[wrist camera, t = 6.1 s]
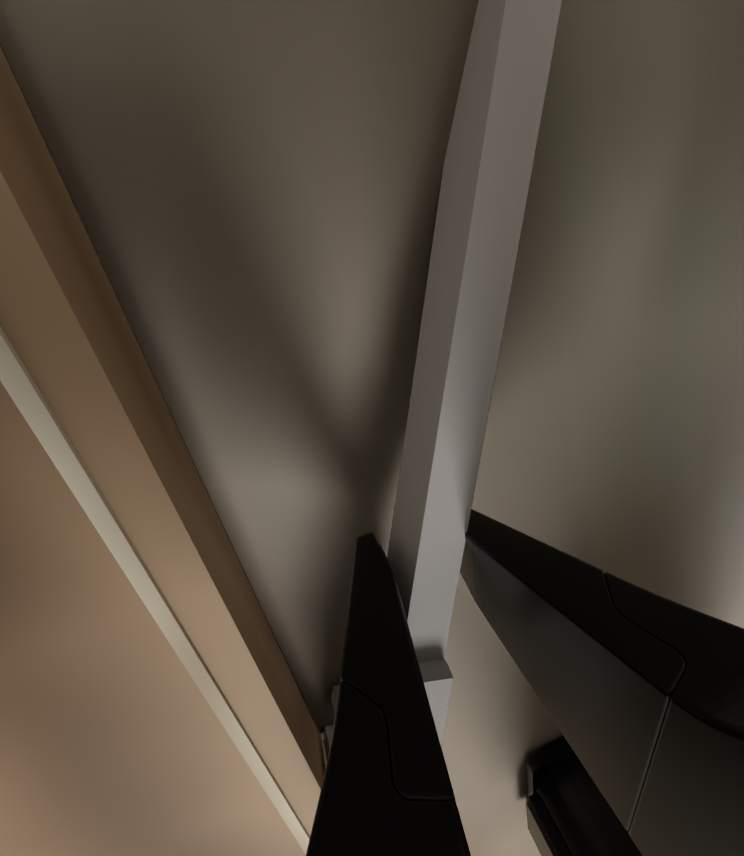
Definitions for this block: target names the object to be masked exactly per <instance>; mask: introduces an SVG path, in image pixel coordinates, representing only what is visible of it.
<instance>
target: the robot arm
mask: <svg viewBox="0 0 744 856" xmlns="http://www.w3.org/2000/svg"><path fill="white" fill-rule="evenodd" d="M465 539H466V540H465V546H464V552H463V557H462V563H461V568H460V573H461V575H462V577H463V579H464V580H465V582H466V584H467V586H468V588H469V590H470V592H471V594H472V596H473V598H474V600H475V602H476V603H477V605H478V607H479V608H480V610H481V611H482V613H483V614H484V616H485V617H486V619H487V620H488V622H489V624H490V625H491V627H492V628H493V630H494V631H495V633H496V634H497V636H498V637H499V639H500V640H501V642H502V643H503V645H504V646H505V648H506V649H507V651H508V652H509V654H510V655H511V657H512V658H513V660H514V661H515V663H516V664H517V666H518V667H519V669H520V670H521V672H522V673H523V675H524V676H525V678H526V679H527V681H528V682H529V684H530V686H531V687H532V689H533V690H534V692H535V693H536V695H537V696H538V698H539V699H540V701H541V702H542V704H543V705H544V707H545V708H546V710H547V711H548V713H549V714H550V716H551V717H552V719H553V720H554V722H555V723H556V725H557V726H558V728H559V729H560V731H561V732H562V734H563V735H564V737H565V738H566V740H565V741H563V742H561V743H559V744H557V745H555V746H553V747H550V748H548V749H546V750H544V751H542V752H540V753H538V754H536V755H534V756H533V757H532V758H531V759H529V761H528V762H527V781H528V799H527V820H528V829H529V831H530V833H531V835H532V837H533V839H534V841H535V844H536V846H537V848H538V850H539V852H540V854H541V856H744V629H743V628H741V627H738V626H735V625H733V624H730V623H727V622H725V621H722V620H720V619H717V618H714V617H712V616H709V615H706V614H704V613H701V612H699V611H696V610H693V609H691V608H688V607H686V606H683V605H681V604H678V603H676V602H673V601H671V600H668V599H666V598H663V597H661V596H658V595H656V594H654V593H651V592H649V591H647V590H645V589H642V588H640V587H638V586H636V585H633V584H631V583H629V582H627V581H625V580H622V579H620V578H618V577H616V576H614V575H612V574H610V573H607V572H606V573H604V572H603V571H602V570H601V569H599V568H596V567H594V566H592V565H590V564H588V563H586V562H584V561H581V560H579V559H577V558H575V557H573V556H571V555H569V554H567V553H564V552H562V551H560V550H558V549H556V548H554V547H552V546H549V545H547V544H545V543H543V542H541V541H539V540H537V539H534V538H532V537H530V536H528V535H526V534H524V533H522V532H520V531H517V530H515V529H513V528H511V527H509V526H507V525H505V524H502V523H500V522H498V521H496V520H494V519H492V518H490V517H487V516H485V515H483V514H481V513H479V512H477V511H475V510H473V509H471V513H470V518H469V524H468V529H467V532H466V533H465ZM340 679H341V681H340V683H339V690H338V699H337V707H336V714H335V721H334V727H333V734H332V740H331V745H330V750H329V755H328V760H327V765H326V770H325V774H324V779H323V783H322V787H321V792H320V796H319V800H318V805H317V809H316V813H315V818H314V822H313V826H312V831H311V835H310V839H309V844H308V848H307V852H306V856H471V854H470V851H469V847H468V844H467V840H466V837H465V833H464V830H463V826H462V822H461V819H460V815H459V811H458V808H457V805H456V801H455V797H454V793H453V789H452V785H451V782H450V778H449V774H448V771H447V767H446V763H445V760H444V756H443V752H442V748H441V745H440V741H439V737H438V734H437V730H436V726H435V722H434V719H433V715H432V711H431V708H430V704H429V700H428V697H427V693H426V689H425V685H424V682H423V678H422V674H421V671H420V667H419V663H418V660H417V656H416V652H415V648H414V645H413V641H412V637H411V634H410V630H409V626H408V623H407V619H406V615H405V611H404V608H403V604H402V600H401V597H400V593H399V589H398V585H397V582H396V578H395V575H394V572H393V569H392V567H391V565H390V563H389V561H388V559H387V557H386V555H385V553H384V551H383V549H382V547H381V545H380V543H379V541H378V539H377V537H376V535H375V534H374V533H373V532H370V533H367V534H364V535H361V536H358V537H357V538H356V542H355V551H354V560H353V568H352V577H351V586H350V595H349V604H348V613H347V622H346V630H345V639H344V648H343V657H342V666H341V675H340Z"/></svg>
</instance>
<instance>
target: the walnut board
mask: <svg viewBox="0 0 744 856" xmlns="http://www.w3.org/2000/svg"><path fill="white" fill-rule="evenodd" d="M326 765H327V760H326V754H325V747H324V743H323V741H322V738H321V736H320V734H319V732H318V730H317V728H316V726H315V723H314V721H313V719H312V717H311V715H310V713H309V710H308V708H307V706H306V704H305V702H304V700H303V698H302V695H301V693H300V691H299V689H298V687H297V685H296V682H295V680H294V678H293V676H292V674H291V672H290V670H289V667H288V665H287V663H286V661H285V659H284V657H283V654H282V652H281V650H280V648H279V646H278V644H277V642H276V639H275V637H274V635H273V633H272V631H271V629H270V626H269V624H268V622H267V620H266V618H265V616H264V613H263V611H262V609H261V607H260V605H259V603H258V601H257V598H256V596H255V594H254V592H253V590H252V588H251V585H250V583H249V581H248V579H247V577H246V575H245V573H244V570H243V568H242V566H241V564H240V562H239V560H238V557H237V555H236V553H235V551H234V549H233V547H232V545H231V542H230V540H229V538H228V536H227V534H226V532H225V529H224V527H223V525H222V523H221V521H220V519H219V517H218V514H217V512H216V510H215V508H214V506H213V504H212V501H211V499H210V497H209V495H208V493H207V491H206V489H205V486H204V484H203V482H202V480H201V478H200V476H199V473H198V471H197V469H196V467H195V465H194V463H193V460H192V458H191V456H190V454H189V452H188V450H187V448H186V445H185V443H184V441H183V439H182V437H181V435H180V432H179V430H178V428H177V426H176V424H175V422H174V420H173V417H172V415H171V413H170V411H169V409H168V407H167V404H166V402H165V400H164V398H163V396H162V394H161V392H160V389H159V387H158V385H157V383H156V381H155V379H154V376H153V374H152V372H151V370H150V368H149V366H148V364H147V361H146V359H145V357H144V355H143V353H142V351H141V348H140V346H139V344H138V342H137V340H136V338H135V335H134V333H133V331H132V329H131V327H130V325H129V323H128V320H127V318H126V316H125V314H124V312H123V310H122V307H121V305H120V303H119V301H118V299H117V297H116V295H115V292H114V290H113V288H112V286H111V284H110V282H109V279H108V277H107V275H106V273H105V271H104V269H103V267H102V264H101V262H100V260H99V258H98V256H97V254H96V251H95V249H94V247H93V245H92V243H91V241H90V239H89V236H88V234H87V232H86V230H85V228H84V226H83V223H82V221H81V219H80V217H79V215H78V213H77V211H76V208H75V206H74V204H73V202H72V200H71V198H70V195H69V193H68V191H67V189H66V187H65V185H64V182H63V180H62V178H61V176H60V174H59V172H58V170H57V167H56V165H55V163H54V161H53V159H52V157H51V154H50V152H49V150H48V148H47V146H46V144H45V142H44V139H43V137H42V135H41V133H40V131H39V129H38V126H37V124H36V122H35V120H34V118H33V116H32V114H31V111H30V109H29V107H28V105H27V103H26V101H25V98H24V96H23V94H22V92H21V90H20V88H19V86H18V83H17V81H16V79H15V77H14V75H13V73H12V70H11V68H10V66H9V64H8V62H7V60H6V57H5V55H4V53H3V51H2V49H1V47H0V856H306V852H307V848H308V844H309V839H310V835H311V831H312V826H313V822H314V818H315V813H316V809H317V805H318V800H319V796H320V792H321V787H322V783H323V779H324V774H325V770H326Z"/></svg>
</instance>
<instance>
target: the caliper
mask: <svg viewBox="0 0 744 856" xmlns="http://www.w3.org/2000/svg"><path fill="white" fill-rule="evenodd" d="M561 4H562V0H478V5H477V10H476V14H475V19H474V24H473V28H472V33H471V38H470V43H469V47H468V52H467V57H466V62H465V66H464V71H463V76H462V81H461V85H460V90H459V95H458V99H457V104H456V109H455V114H454V118H453V123H452V128H451V133H450V137H449V142H448V147H447V152H446V156H445V161H444V166H443V174H442V181H441V188H440V195H439V202H438V209H437V216H436V223H435V230H434V237H433V244H432V251H431V258H430V265H429V272H428V279H427V286H426V293H425V300H424V307H423V314H422V321H421V328H420V335H419V342H418V349H417V356H416V363H415V370H414V377H413V384H412V391H411V398H410V405H409V411H408V418H407V425H406V432H405V439H404V446H403V452H402V459H401V466H400V473H399V480H398V487H397V493H396V500H395V507H394V514H393V521H392V528H391V534H390V541H389V548H388V555H387V559H388V561H389V563H390V565H391V567H392V569H393V572H394V575H395V578H396V582H397V585H398V589H399V593H400V597H401V600H402V604H403V608H404V611H405V615H406V619H407V623H408V626H409V630H410V634H411V637H412V641H413V645H414V648H415V652H416V656H417V660H418V663H419V667H420V671H421V674H422V678H423V682H424V685H425V689H426V693H427V697H428V700H429V704H430V708H431V711H432V715H433V719H434V722H435V726H436V730H437V734H438V737H439V741H440V745H441V746H442V740H443V735H444V729H445V723H446V718H447V712H448V706H449V700H450V695H451V689H452V683H453V676H452V673H451V671H450V668H449V666H448V664H447V663H446V661H445V660H444V657H445V651H446V646H447V640H448V635H449V629H450V624H451V618H452V613H453V607H454V601H455V596H456V590H457V585H458V579H459V574H460V568H461V563H462V557H463V552H464V546H465V540H466V539H465V533H466V532H467V529H468V524H469V518H470V513H471V507H472V502H473V496H474V491H475V485H476V479H477V474H478V468H479V463H480V457H481V452H482V446H483V441H484V435H485V430H486V424H487V418H488V413H489V407H490V402H491V396H492V391H493V385H494V380H495V374H496V369H497V363H498V357H499V352H500V346H501V341H502V335H503V330H504V324H505V319H506V313H507V308H508V302H509V296H510V291H511V285H512V280H513V274H514V269H515V263H516V258H517V252H518V246H519V241H520V235H521V229H522V224H523V218H524V212H525V207H526V201H527V196H528V190H529V184H530V179H531V173H532V167H533V162H534V156H535V150H536V145H537V139H538V133H539V128H540V122H541V117H542V111H543V105H544V100H545V94H546V88H547V83H548V77H549V71H550V66H551V60H552V54H553V49H554V43H555V38H556V32H557V26H558V21H559V15H560V9H561ZM338 690H339V685H336V686H333V691H332V696H331V701H332V704H333V707H334V714H336V707H337V699H338ZM333 727H334V725H330V726H325V729H324V747H325V754H326V760H328V755H329V750H330V745H331V740H332V734H333Z"/></svg>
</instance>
